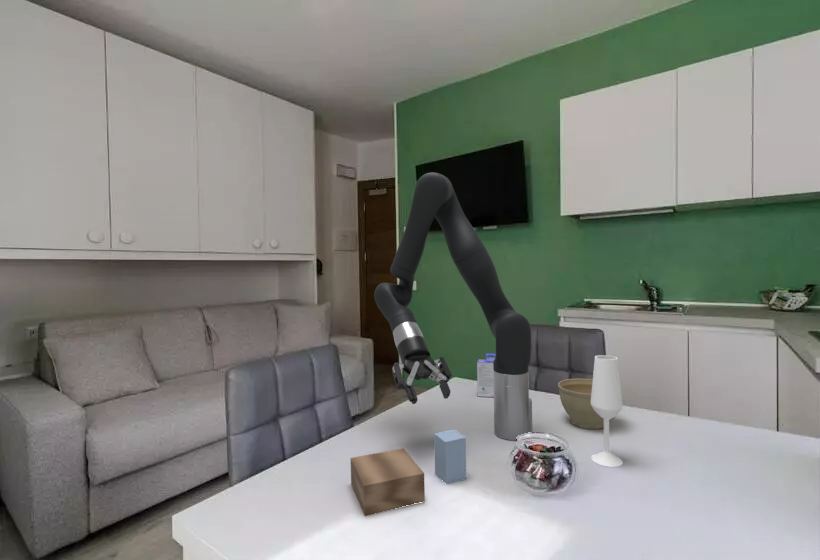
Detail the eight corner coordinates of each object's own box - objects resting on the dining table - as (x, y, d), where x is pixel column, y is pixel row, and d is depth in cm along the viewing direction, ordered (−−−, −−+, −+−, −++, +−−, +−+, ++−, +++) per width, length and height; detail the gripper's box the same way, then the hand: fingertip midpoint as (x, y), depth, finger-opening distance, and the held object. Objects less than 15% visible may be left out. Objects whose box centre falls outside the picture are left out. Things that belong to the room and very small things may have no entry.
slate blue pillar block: (454, 468, 94) (453, 429, 94) (466, 478, 89) (465, 437, 89) (435, 473, 92) (434, 433, 92) (446, 484, 87) (445, 442, 87)
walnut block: (404, 474, 92) (403, 448, 92) (424, 503, 81) (424, 473, 81) (351, 485, 88) (350, 458, 88) (364, 517, 77) (364, 485, 77)
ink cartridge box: (506, 393, 147) (505, 352, 147) (506, 398, 142) (505, 356, 142) (477, 392, 149) (477, 352, 149) (477, 397, 144) (476, 355, 144)
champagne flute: (626, 459, 96) (626, 356, 96) (617, 469, 92) (617, 362, 91) (596, 450, 101) (596, 353, 100) (586, 460, 96) (585, 358, 95)
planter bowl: (622, 419, 121) (622, 382, 121) (616, 439, 107) (616, 397, 107) (565, 409, 130) (564, 375, 129) (552, 427, 116) (552, 389, 116)
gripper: (388, 337, 102) (408, 396, 92) (439, 332, 108) (463, 387, 98) (381, 354, 107) (399, 412, 97) (430, 349, 113) (452, 402, 103)
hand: (431, 399), depth 98 cm, fingers open, 8 cm apart
